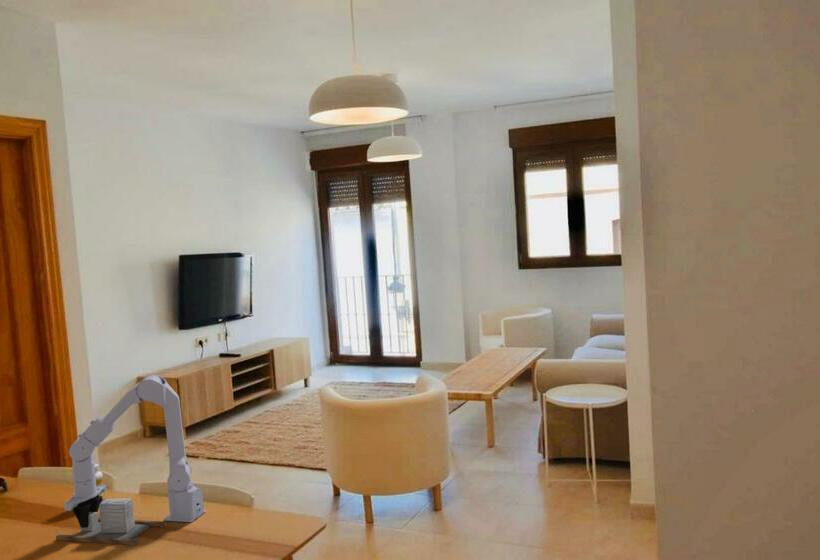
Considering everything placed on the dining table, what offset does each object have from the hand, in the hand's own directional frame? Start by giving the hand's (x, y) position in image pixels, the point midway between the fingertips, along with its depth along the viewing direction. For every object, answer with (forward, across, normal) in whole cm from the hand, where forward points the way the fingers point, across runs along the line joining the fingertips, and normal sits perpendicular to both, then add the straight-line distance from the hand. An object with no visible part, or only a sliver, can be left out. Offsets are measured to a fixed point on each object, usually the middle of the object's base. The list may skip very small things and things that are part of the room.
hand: (88, 524), depth 187 cm
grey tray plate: (+2, 0, +8) cm, 8 cm away
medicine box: (+1, 0, +10) cm, 10 cm away
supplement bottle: (+2, -18, -14) cm, 23 cm away
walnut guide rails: (+2, 0, +8) cm, 8 cm away
